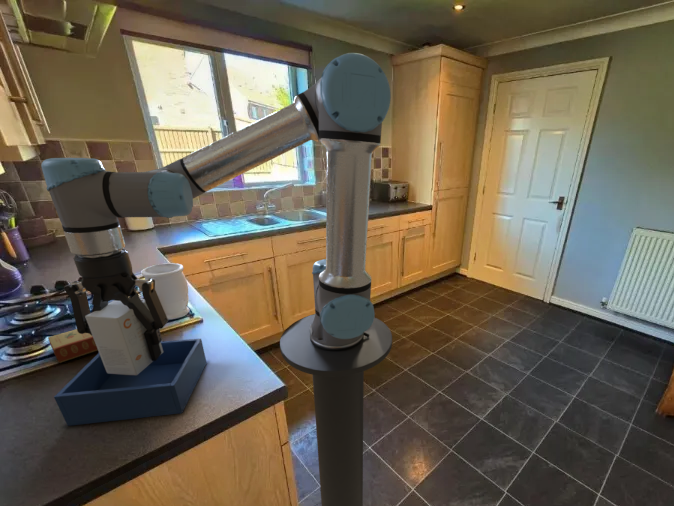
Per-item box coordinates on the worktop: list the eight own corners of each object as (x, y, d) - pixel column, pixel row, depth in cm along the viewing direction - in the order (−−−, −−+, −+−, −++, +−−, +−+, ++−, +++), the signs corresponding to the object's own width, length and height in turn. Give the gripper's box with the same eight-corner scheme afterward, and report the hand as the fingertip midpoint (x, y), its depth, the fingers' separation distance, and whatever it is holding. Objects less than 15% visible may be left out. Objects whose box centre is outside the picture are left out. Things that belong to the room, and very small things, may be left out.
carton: (53, 350, 82) (46, 336, 80) (129, 327, 94) (125, 313, 92) (59, 364, 77) (52, 349, 76) (138, 337, 89) (134, 323, 87)
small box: (136, 350, 71) (119, 296, 66) (164, 352, 71) (149, 298, 66) (105, 374, 64) (83, 315, 59) (136, 376, 64) (117, 317, 58)
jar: (145, 318, 98) (131, 271, 92) (175, 304, 107) (164, 260, 101) (172, 324, 95) (160, 277, 89) (201, 309, 104) (191, 265, 98)
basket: (206, 362, 80) (201, 338, 77) (182, 413, 65) (174, 385, 62) (115, 370, 76) (106, 345, 73) (67, 426, 61) (53, 397, 58)
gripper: (171, 244, 63) (194, 344, 72) (49, 246, 59) (90, 352, 69) (154, 256, 56) (182, 365, 66) (15, 260, 53) (66, 374, 62)
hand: (135, 358), depth 67 cm, fingers closed on small box, 7 cm apart
